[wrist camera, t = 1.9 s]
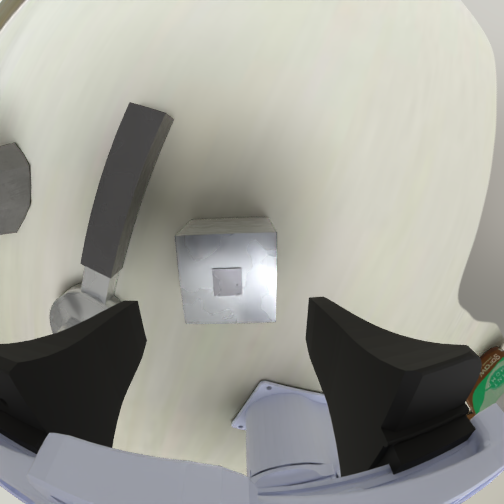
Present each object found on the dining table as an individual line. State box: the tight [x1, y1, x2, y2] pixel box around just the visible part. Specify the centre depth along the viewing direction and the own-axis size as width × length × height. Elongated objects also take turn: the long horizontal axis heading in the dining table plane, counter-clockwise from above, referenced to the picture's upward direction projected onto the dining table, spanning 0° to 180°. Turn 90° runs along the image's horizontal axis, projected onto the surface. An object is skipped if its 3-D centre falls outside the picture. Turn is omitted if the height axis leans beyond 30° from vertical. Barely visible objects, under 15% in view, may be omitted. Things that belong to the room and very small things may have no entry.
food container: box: [466, 347, 504, 416], centre depth 21 cm, size 12×6×10 cm, turn 138°
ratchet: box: [50, 103, 174, 334], centre depth 17 cm, size 8×22×5 cm, turn 156°
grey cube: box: [175, 217, 277, 324], centre depth 17 cm, size 5×5×5 cm
